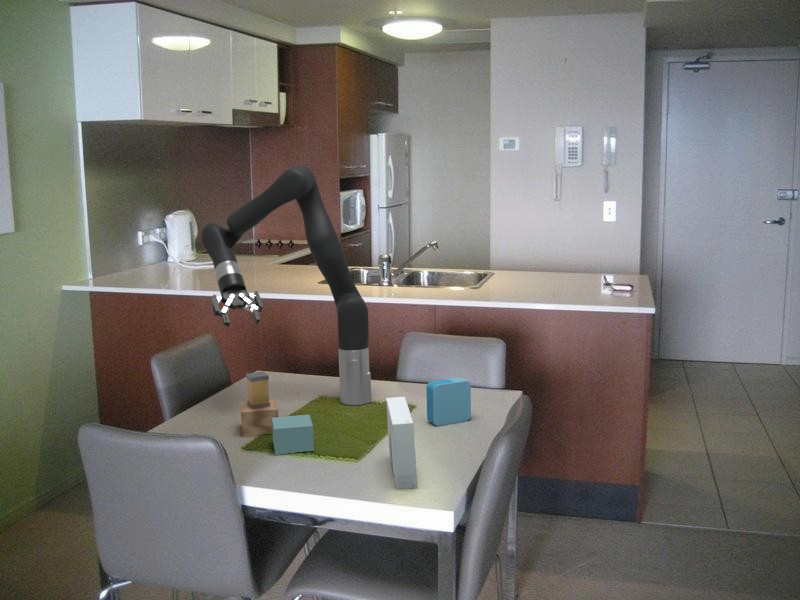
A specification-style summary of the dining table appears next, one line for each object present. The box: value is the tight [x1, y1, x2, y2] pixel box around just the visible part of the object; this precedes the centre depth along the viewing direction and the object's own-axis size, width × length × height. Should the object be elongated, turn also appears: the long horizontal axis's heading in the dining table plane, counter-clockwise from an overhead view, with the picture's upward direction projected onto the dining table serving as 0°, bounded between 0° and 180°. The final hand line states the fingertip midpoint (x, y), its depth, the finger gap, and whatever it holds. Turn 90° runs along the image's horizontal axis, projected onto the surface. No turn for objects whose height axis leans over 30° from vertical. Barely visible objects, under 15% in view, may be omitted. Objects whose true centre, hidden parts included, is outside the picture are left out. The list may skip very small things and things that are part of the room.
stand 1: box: [240, 399, 279, 438], centre depth 239 cm, size 10×10×7 cm
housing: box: [245, 371, 270, 409], centre depth 238 cm, size 5×5×9 cm
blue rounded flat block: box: [425, 376, 472, 427], centre depth 242 cm, size 12×4×12 cm, turn 115°
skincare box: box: [385, 396, 418, 490], centre depth 204 cm, size 21×6×16 cm, turn 5°
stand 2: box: [272, 414, 315, 456], centre depth 224 cm, size 10×10×7 cm
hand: (242, 324), depth 245 cm, fingers open, 8 cm apart
